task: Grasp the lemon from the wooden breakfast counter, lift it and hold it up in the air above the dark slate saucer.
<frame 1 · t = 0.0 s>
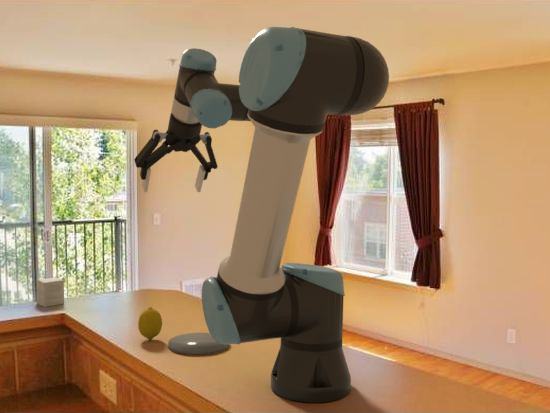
hand: (171, 189, 141), 36 cm above the counter, tool tilted 35°, fingers open, 13 cm apart
product box: (50, 304, 169), on the counter
lemon: (150, 340, 134), on the counter
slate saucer: (198, 345, 130), on the counter
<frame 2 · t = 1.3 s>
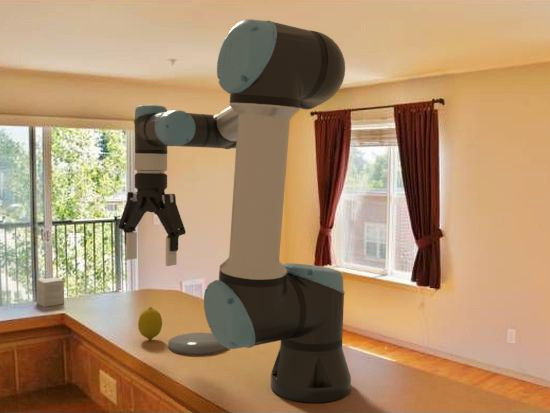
hand: (150, 262, 133), 19 cm above the counter, tool pointing down, fingers open, 13 cm apart
nothing on the counter moved.
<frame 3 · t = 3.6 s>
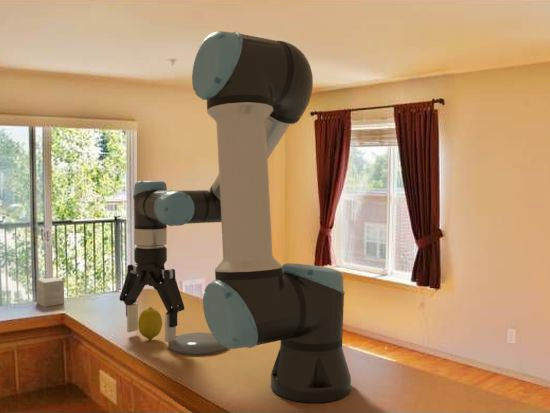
hand: (150, 335, 134), 1 cm above the counter, tool pointing down, fingers open, 12 cm apart
nothing on the counter moved.
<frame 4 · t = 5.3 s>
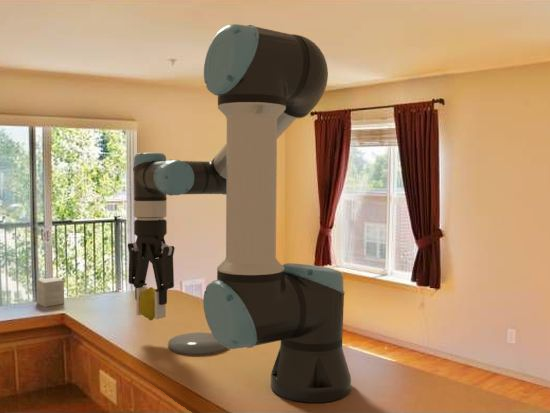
hand: (150, 315, 133), 6 cm above the counter, tool pointing down, fingers closed on lemon, 5 cm apart
lemon: (150, 321, 133), point 5 cm above the counter, touching gripper
everything else where it was.
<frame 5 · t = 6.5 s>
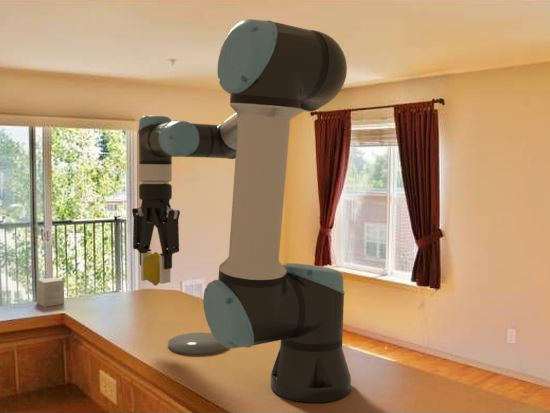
hand: (155, 281, 132), 14 cm above the counter, tool pointing down, fingers closed on lemon, 5 cm apart
lemon: (155, 286, 132), point 13 cm above the counter, touching gripper
everything else where it was.
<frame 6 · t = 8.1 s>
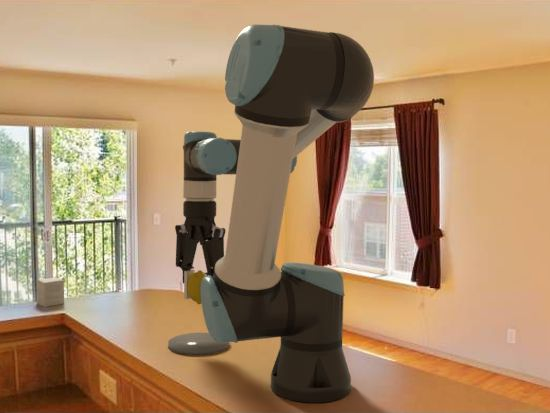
hand: (199, 299, 130), 11 cm above the counter, tool pointing down, fingers closed on lemon, 5 cm apart
lemon: (199, 305, 130), point 9 cm above the counter, touching gripper
everything else where it was.
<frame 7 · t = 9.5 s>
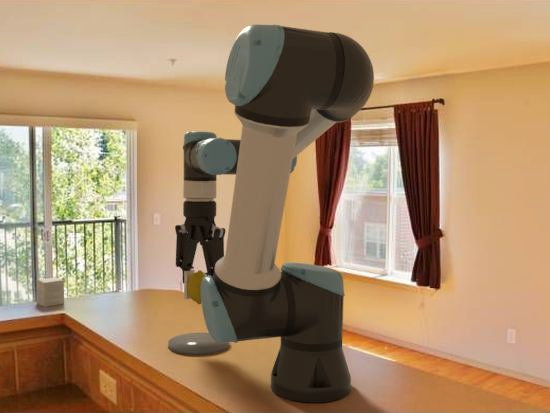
hand: (199, 299, 130), 11 cm above the counter, tool pointing down, fingers closed on lemon, 5 cm apart
lemon: (199, 305, 130), point 9 cm above the counter, touching gripper
everything else where it was.
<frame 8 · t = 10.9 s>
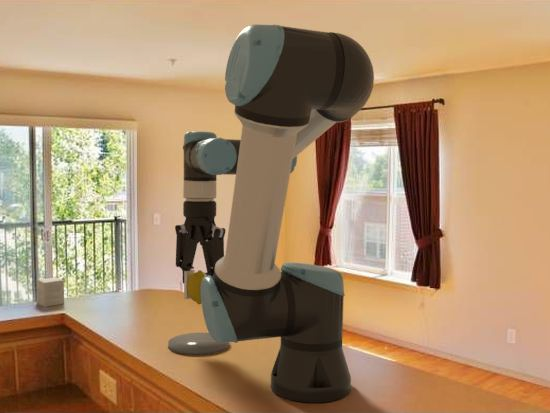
hand: (199, 299, 130), 11 cm above the counter, tool pointing down, fingers closed on lemon, 5 cm apart
lemon: (199, 305, 130), point 9 cm above the counter, touching gripper
everything else where it was.
at the end: the gripper is holding lemon; lemon point 9.5 cm above the counter; lemon inside the target area (0.0 cm from its centre), point 9.5 cm above the counter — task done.
